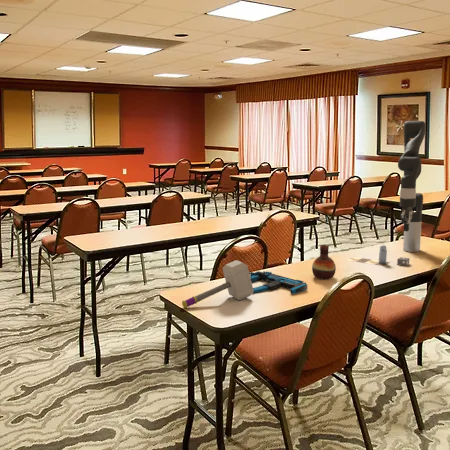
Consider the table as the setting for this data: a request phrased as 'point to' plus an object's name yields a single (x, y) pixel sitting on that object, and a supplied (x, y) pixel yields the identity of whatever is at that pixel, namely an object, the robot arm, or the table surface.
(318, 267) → the vase
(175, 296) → the table surface
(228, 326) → the table surface
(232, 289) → the hammer
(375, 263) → the board
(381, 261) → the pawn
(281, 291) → the table surface
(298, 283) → the submachine gun
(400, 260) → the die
